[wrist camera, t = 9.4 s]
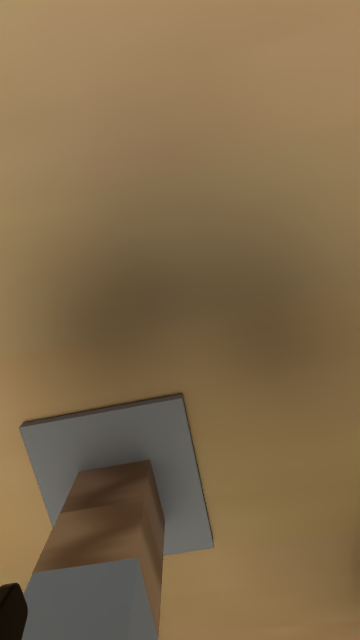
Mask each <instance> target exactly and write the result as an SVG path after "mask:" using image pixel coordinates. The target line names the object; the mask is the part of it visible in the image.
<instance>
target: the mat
mask: <svg viewBox="0 0 360 640" xmlns="http://www.w3.org/2000/svg"><path fill="white" fill-rule="evenodd" d="M19 430H20V433H21V436H22V438H23V441H24V444H25V447H26V450H27V453H28V456H29V459H30V462H31V465H32V468H33V471H34V474H35V477H36V480H37V482H38V485H39V488H40V491H41V494H42V497H43V500H44V503H45V506H46V509H47V512H48V515H49V518H50V521H51V524H52V526H53V527H54V525H55V522H56V520H57V518H58V516H59V514H60V512H61V509H62V507H63V505H64V503H65V501H66V498H67V496H68V494H69V492H70V490H71V487H72V485H73V483H74V481H75V479H76V477H77V474H78V472H81V471H86V470H92V469H98V468H104V467H109V466H115V465H121V464H127V463H133V462H138V461H144V460H150V461H151V465H152V469H153V473H154V477H155V481H156V485H157V489H158V493H159V497H160V502H161V506H162V510H163V514H164V518H165V531H164V549H163V556H165V555H171V554H177V553H184V552H190V551H196V550H202V549H209V548H214V544H213V538H212V533H211V528H210V523H209V519H208V514H207V509H206V505H205V500H204V495H203V490H202V486H201V481H200V476H199V471H198V467H197V462H196V457H195V453H194V448H193V443H192V438H191V434H190V429H189V424H188V420H187V415H186V410H185V405H184V401H183V396H182V394H179V395H174V396H168V397H163V398H157V399H152V400H146V401H141V402H135V403H130V404H124V405H119V406H113V407H108V408H102V409H97V410H91V411H86V412H80V413H75V414H69V415H64V416H58V417H53V418H47V419H42V420H36V421H31V422H25V423H23V424H22V425H21V426H20V427H19Z"/></svg>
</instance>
